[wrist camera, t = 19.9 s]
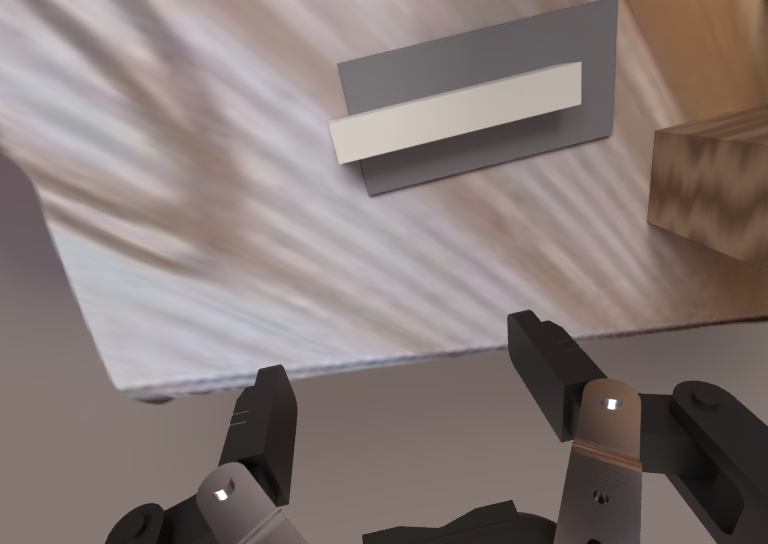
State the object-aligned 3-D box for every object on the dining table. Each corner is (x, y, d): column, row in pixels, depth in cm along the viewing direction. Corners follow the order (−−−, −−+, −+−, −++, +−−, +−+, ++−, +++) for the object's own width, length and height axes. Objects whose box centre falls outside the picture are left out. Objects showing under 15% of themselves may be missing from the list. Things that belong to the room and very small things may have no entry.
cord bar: (328, 121, 42) (328, 124, 38) (560, 64, 43) (581, 61, 39) (338, 158, 44) (339, 164, 40) (560, 103, 44) (581, 104, 41)
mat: (337, 63, 40) (337, 63, 40) (614, -3, 41) (618, -4, 41) (368, 194, 47) (368, 195, 46) (608, 134, 47) (612, 134, 47)
